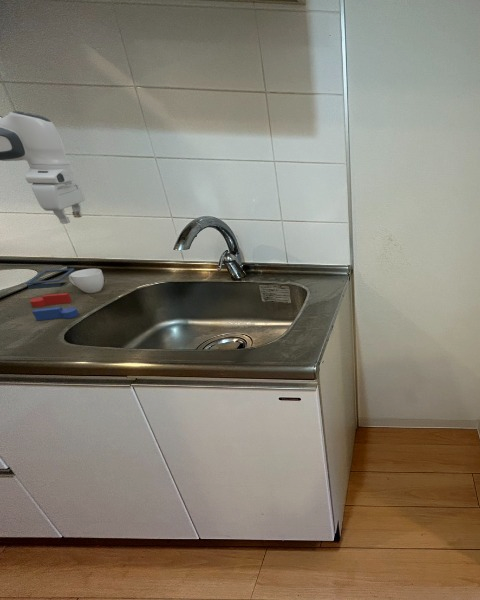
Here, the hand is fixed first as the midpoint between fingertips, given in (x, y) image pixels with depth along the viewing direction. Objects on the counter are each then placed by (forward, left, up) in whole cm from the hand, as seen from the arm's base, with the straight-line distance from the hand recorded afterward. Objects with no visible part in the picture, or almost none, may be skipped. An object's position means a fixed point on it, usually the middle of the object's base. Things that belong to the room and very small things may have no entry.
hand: (72, 220), depth 99 cm
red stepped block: (-8, -12, -24) cm, 28 cm away
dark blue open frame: (-15, +9, -24) cm, 29 cm away
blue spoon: (-2, -23, -24) cm, 33 cm away
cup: (-1, -3, -24) cm, 24 cm away
